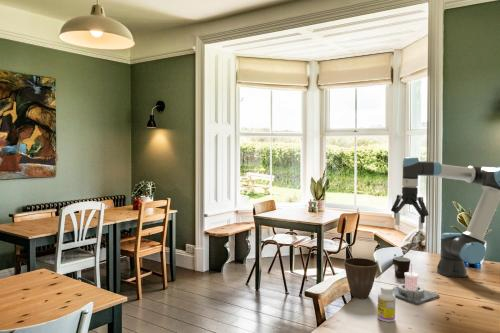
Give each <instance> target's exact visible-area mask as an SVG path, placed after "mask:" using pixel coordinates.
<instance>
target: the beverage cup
mask: <svg viewBox="0 0 500 333" xmlns="http://www.w3.org/2000/svg"><path fill="white" fill-rule="evenodd" d="M404 275H405V279H404V284H405V289H407V290H413V291H414V290H416V289H417V286H418V278H419V274H418V273H417V272H413V263H412V262H410V271H409V272H405V273H404Z"/></svg>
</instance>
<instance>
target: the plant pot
mask: <svg viewBox="0 0 500 333" xmlns="http://www.w3.org/2000/svg"><path fill="white" fill-rule="evenodd" d="M343 263H344V270H345V275H346V280H347V283H348V287H349V290H350V293H351V296H352V297H354V298H355V299H356V298H357V299H368V298H369V297H370V294H371V292H372V289H373V286H374V282H375V280H376V275H377V274H376V273H377V269H378V262H376V261H375V260H372V259H368V258H361V257H353V258H352V257H351V258H350V257H349V258H346V259H344V262H343Z"/></svg>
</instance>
